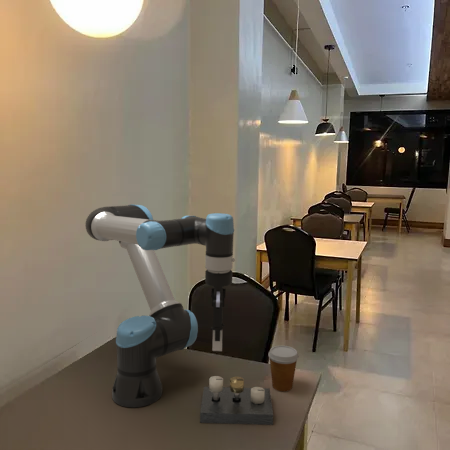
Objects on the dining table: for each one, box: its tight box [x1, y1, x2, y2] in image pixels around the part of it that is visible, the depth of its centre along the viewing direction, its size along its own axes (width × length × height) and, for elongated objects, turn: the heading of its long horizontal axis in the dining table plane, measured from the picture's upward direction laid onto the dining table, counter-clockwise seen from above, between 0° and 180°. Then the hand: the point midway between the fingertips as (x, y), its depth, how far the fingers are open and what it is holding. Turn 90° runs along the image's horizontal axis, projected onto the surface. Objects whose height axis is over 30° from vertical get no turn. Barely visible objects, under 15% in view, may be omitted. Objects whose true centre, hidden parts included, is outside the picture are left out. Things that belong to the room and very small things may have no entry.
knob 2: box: [250, 386, 265, 404], centre depth 128 cm, size 4×4×6 cm
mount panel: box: [199, 386, 274, 426], centre depth 129 cm, size 20×14×3 cm
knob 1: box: [208, 375, 224, 400], centre depth 128 cm, size 4×4×6 cm
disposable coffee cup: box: [267, 345, 300, 393], centre depth 141 cm, size 10×10×12 cm
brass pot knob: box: [229, 376, 245, 401], centre depth 128 cm, size 4×4×6 cm
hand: (217, 349), depth 127 cm, fingers closed
